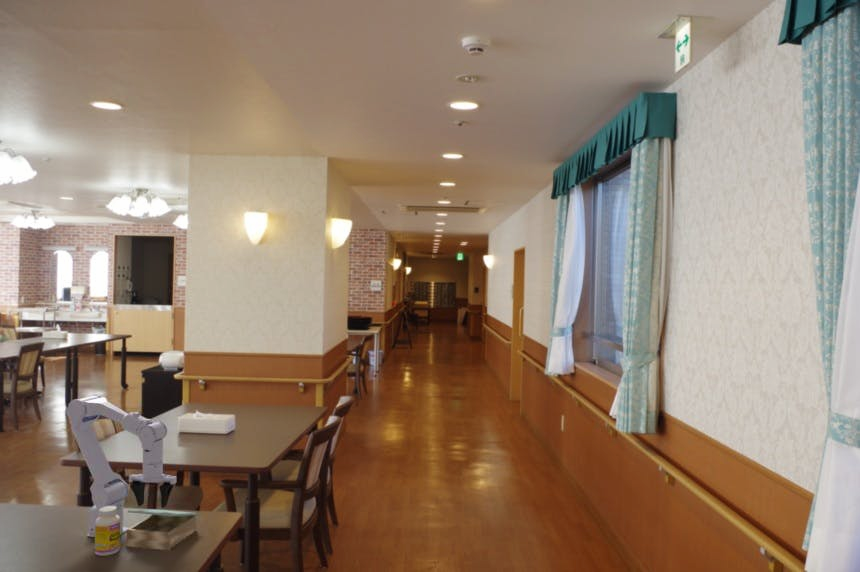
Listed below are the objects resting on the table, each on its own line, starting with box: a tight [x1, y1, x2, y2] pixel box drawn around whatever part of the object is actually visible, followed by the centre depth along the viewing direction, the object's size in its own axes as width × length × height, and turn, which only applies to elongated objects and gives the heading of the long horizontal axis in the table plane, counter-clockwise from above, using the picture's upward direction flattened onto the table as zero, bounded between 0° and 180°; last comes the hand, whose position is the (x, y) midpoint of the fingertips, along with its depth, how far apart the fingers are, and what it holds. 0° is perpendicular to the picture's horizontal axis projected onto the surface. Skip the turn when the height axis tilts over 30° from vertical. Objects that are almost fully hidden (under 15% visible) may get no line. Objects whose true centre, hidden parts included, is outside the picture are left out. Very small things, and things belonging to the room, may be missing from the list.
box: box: [126, 514, 197, 551], centre depth 198 cm, size 14×15×5 cm
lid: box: [127, 509, 198, 516], centre depth 198 cm, size 14×15×1 cm
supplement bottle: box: [94, 506, 121, 557], centre depth 188 cm, size 7×7×13 cm
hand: (152, 505), depth 198 cm, fingers open, 7 cm apart
